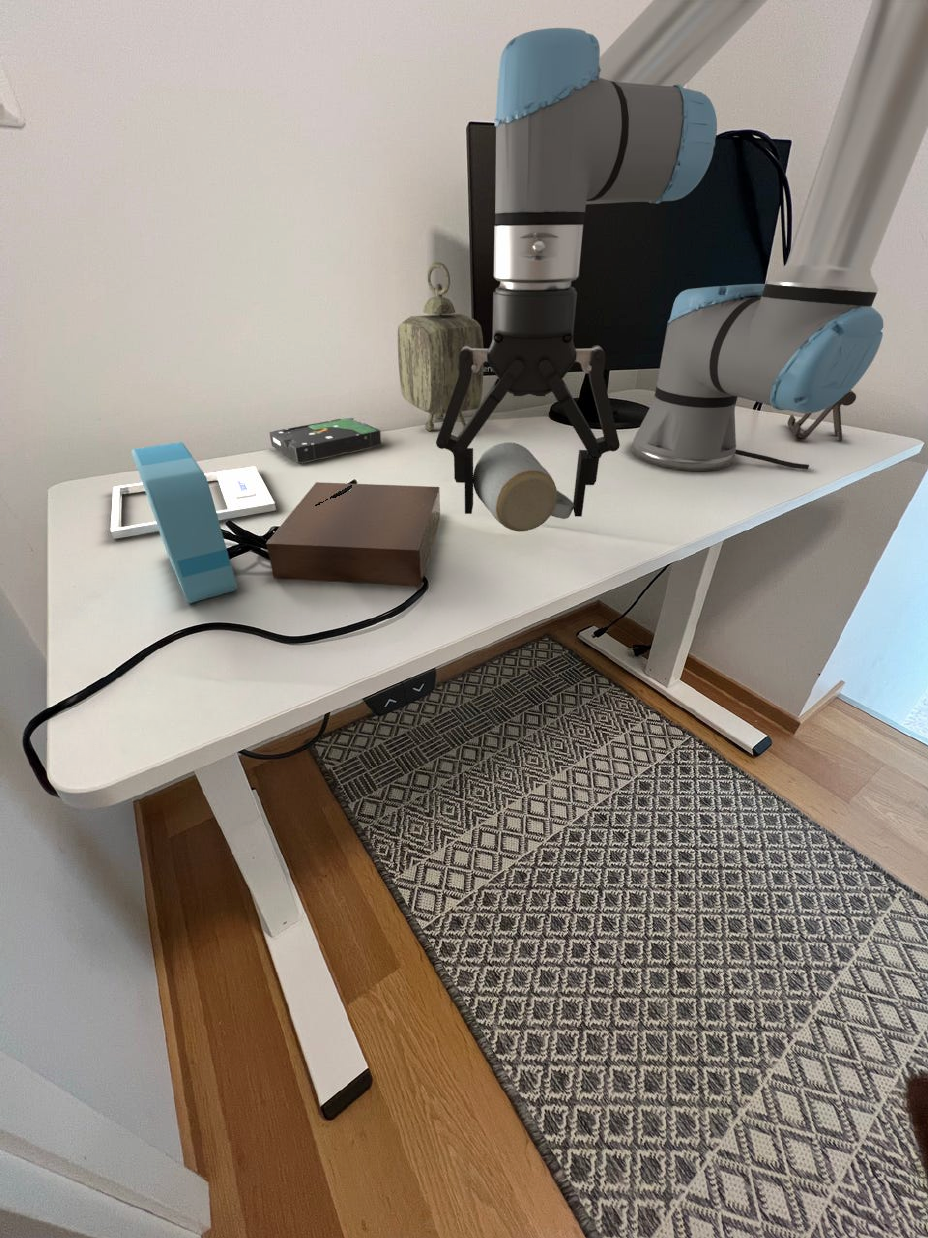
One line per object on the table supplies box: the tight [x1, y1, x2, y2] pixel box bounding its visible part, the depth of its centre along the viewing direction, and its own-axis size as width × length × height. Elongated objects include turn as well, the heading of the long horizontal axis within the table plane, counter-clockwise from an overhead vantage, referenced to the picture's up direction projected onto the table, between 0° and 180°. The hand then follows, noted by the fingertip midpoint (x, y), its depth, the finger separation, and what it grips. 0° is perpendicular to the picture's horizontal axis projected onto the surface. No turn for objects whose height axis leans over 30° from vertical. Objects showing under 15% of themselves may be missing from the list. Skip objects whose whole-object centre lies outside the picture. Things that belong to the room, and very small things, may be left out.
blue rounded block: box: [131, 441, 238, 604], centre depth 52 cm, size 12×4×12 cm, turn 33°
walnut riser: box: [265, 481, 441, 587], centre depth 60 cm, size 15×16×4 cm
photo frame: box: [110, 466, 277, 540], centre depth 70 cm, size 15×1×18 cm
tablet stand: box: [786, 389, 857, 442], centre depth 93 cm, size 9×8×8 cm
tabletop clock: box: [397, 261, 485, 432], centre depth 90 cm, size 14×9×25 cm, turn 30°
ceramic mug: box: [473, 441, 574, 533], centre depth 59 cm, size 11×8×8 cm
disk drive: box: [268, 417, 382, 464], centre depth 88 cm, size 10×3×15 cm
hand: (522, 510), depth 61 cm, fingers closed on ceramic mug, 11 cm apart
